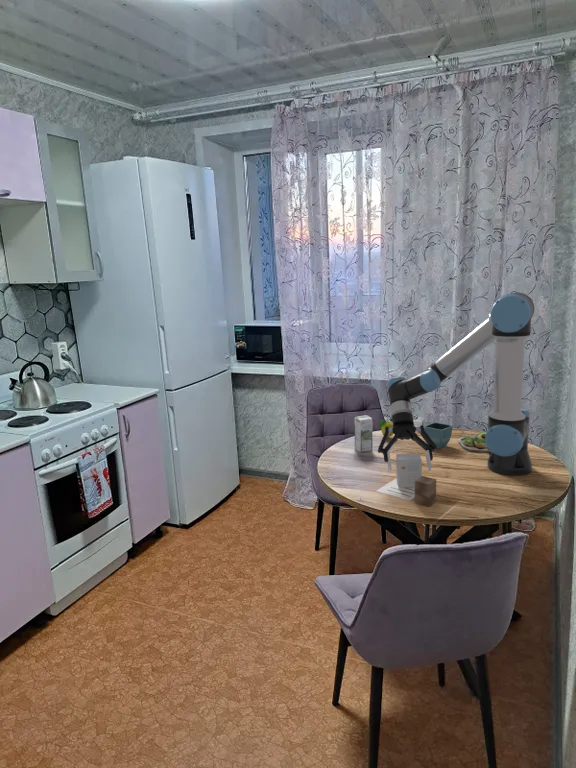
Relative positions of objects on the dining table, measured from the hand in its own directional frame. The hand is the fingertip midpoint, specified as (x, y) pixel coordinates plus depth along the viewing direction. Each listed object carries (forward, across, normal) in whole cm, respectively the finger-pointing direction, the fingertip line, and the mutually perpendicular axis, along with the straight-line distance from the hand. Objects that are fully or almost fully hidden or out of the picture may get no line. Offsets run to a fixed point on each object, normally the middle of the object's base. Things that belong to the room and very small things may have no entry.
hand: (410, 469), depth 175 cm
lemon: (-34, -1, -44) cm, 55 cm away
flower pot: (-25, -20, -34) cm, 47 cm away
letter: (+5, +2, -4) cm, 7 cm away
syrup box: (-23, +12, -33) cm, 42 cm away
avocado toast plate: (-24, -38, -34) cm, 57 cm away
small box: (+3, 0, -6) cm, 7 cm away
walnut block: (+13, -2, +4) cm, 14 cm away
